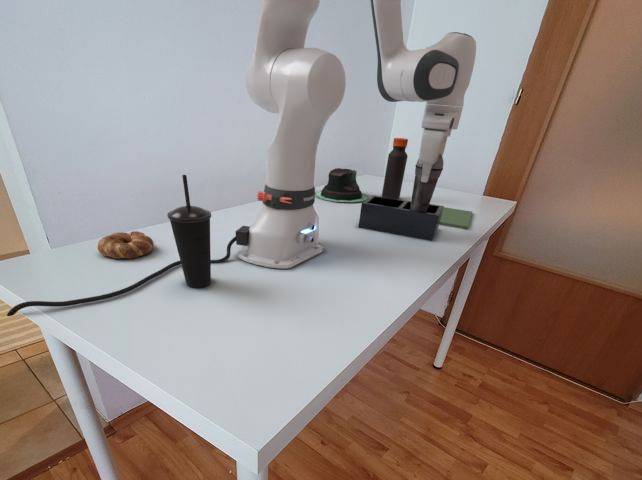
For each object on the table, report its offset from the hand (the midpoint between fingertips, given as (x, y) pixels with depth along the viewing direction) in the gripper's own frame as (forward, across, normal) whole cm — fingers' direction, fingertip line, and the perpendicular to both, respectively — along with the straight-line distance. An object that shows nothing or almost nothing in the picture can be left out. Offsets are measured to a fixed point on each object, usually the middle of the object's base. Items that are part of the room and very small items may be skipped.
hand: (426, 179), depth 99 cm
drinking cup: (+16, +58, -33) cm, 69 cm away
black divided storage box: (+14, 0, -5) cm, 15 cm away
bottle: (+14, -36, -16) cm, 42 cm away
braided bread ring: (+16, +54, -57) cm, 80 cm away
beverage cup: (+9, 0, 0) cm, 9 cm away
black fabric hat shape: (+14, -28, -33) cm, 46 cm away
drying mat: (+14, -22, +5) cm, 27 cm away
